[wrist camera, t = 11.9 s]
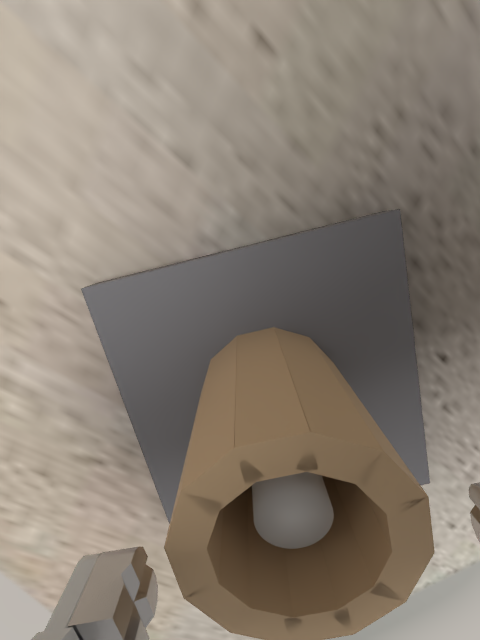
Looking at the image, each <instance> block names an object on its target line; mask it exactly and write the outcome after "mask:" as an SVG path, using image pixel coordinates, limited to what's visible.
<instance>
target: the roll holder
mask: <svg viewBox="0 0 480 640" xmlns="http://www.w3.org/2000/svg"><path fill="white" fill-rule="evenodd" d="M81 290H82V293H83V295H84V298H85V301H86V303H87V306H88V309H89V311H90V314H91V317H92V319H93V322H94V325H95V327H96V330H97V333H98V335H99V338H100V341H101V343H102V346H103V349H104V351H105V354H106V356H107V359H108V362H109V364H110V367H111V370H112V372H113V375H114V378H115V380H116V383H117V386H118V388H119V391H120V394H121V396H122V399H123V402H124V404H125V407H126V410H127V412H128V415H129V418H130V420H131V423H132V425H133V428H134V431H135V433H136V436H137V439H138V441H139V444H140V447H141V449H142V452H143V455H144V457H145V460H146V463H147V465H148V468H149V471H150V473H151V476H152V479H153V481H154V484H155V487H156V489H157V492H158V494H159V497H160V500H161V502H162V505H163V508H164V510H165V513H166V516H167V518H168V521H169V524H170V521H171V517H172V513H173V508H174V504H175V500H176V496H177V492H178V488H179V483H180V479H181V475H182V471H183V467H184V462H185V458H186V454H187V450H188V446H189V442H190V437H191V433H192V429H193V425H194V421H195V416H196V412H197V408H198V404H199V400H200V396H201V391H202V388H203V384H204V381H205V378H206V374H207V371H208V367H209V364H210V360H211V359H212V358H213V357H214V356H215V355H216V354H218V353H219V352H220V351H221V350H222V349H223V348H224V347H225V346H226V345H227V344H229V343H230V342H231V341H232V340H233V339H234V338H235V337H236V336H238V335H242V334H246V333H251V332H255V331H259V330H264V329H268V328H272V327H275V328H278V329H282V330H286V331H289V332H293V333H296V334H300V335H303V336H307V337H310V338H311V339H312V340H313V342H314V343H315V344H316V345H317V346H318V347H319V348H320V349H321V350H322V351H323V352H324V353H325V354H326V355H327V356H328V357H329V358H330V360H331V361H332V362H333V363H334V364H335V366H336V367H337V369H338V370H339V371H340V373H341V374H342V376H343V377H344V378H345V380H346V381H347V383H348V384H349V385H350V387H351V388H352V390H353V391H354V393H355V394H356V395H357V397H358V398H359V400H360V401H361V402H362V404H363V405H364V407H365V408H366V409H367V411H368V412H369V414H370V415H371V417H372V418H373V419H374V421H375V422H376V424H377V425H378V426H379V428H380V429H381V431H382V432H383V434H384V435H385V436H386V438H387V439H388V441H389V442H390V443H391V445H392V446H393V448H394V449H395V450H396V452H397V453H398V455H399V456H400V458H401V459H402V460H403V462H404V463H405V465H406V466H407V467H408V469H409V470H410V472H411V473H412V474H413V476H414V477H415V479H416V480H417V482H418V483H419V484H420V485H424V484H429V483H430V479H429V470H428V461H427V452H426V443H425V433H424V424H423V415H422V406H421V397H420V388H419V379H418V370H417V360H416V351H415V342H414V333H413V324H412V315H411V306H410V296H409V287H408V278H407V269H406V260H405V251H404V242H403V233H402V223H401V214H400V209H397V210H390V211H383V212H379V213H375V214H371V215H367V216H363V217H359V218H355V219H351V220H347V221H343V222H339V223H335V224H331V225H327V226H323V227H319V228H315V229H311V230H307V231H303V232H299V233H295V234H291V235H287V236H283V237H279V238H275V239H271V240H267V241H263V242H259V243H255V244H251V245H247V246H243V247H239V248H235V249H231V250H227V251H223V252H219V253H215V254H211V255H207V256H203V257H199V258H195V259H191V260H187V261H183V262H179V263H175V264H171V265H167V266H163V267H159V268H155V269H151V270H147V271H143V272H139V273H135V274H131V275H127V276H123V277H119V278H115V279H111V280H107V281H103V282H99V283H95V284H93V285H90V286H87V287H85V288H82V289H81ZM252 496H253V517H254V525H255V528H256V530H257V532H258V533H259V535H260V536H261V537H262V538H263V539H264V540H266V541H267V542H268V543H270V544H272V545H274V546H277V547H281V548H286V549H297V548H303V547H307V546H310V545H312V544H314V543H316V542H318V541H319V540H320V539H322V538H323V537H324V536H325V535H326V534H327V532H328V531H329V530H330V528H331V526H332V523H333V518H334V513H333V508H332V504H331V502H330V499H329V496H328V493H327V490H326V487H325V484H324V481H323V478H322V475H318V474H314V473H310V472H303V473H298V474H293V475H288V476H283V477H278V478H274V479H269V480H264V481H259V482H255V483H254V484H253V485H252Z"/></svg>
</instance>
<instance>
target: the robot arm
mask: <svg viewBox="0 0 480 640" xmlns="http://www.w3.org/2000/svg"><path fill="white" fill-rule="evenodd" d="M469 497H470V499H471V500H472V501H473V502H474V504H475V506H474V508H473V509H472V510H471V512H470V514H471V523H472V526H473V529H474V531H475V534H476V537H477V538H478V540H479V542H480V483H475V484H471V486H470V488H469ZM147 557H148V556H147V554H146V552H145V550H144V548H143V547H134V548H128V549H121V550H115V551H108V552H102V553H97V554H91V555H85V556H83V557H82V558H81V559H80V560H79V562H78V563H77V565H76V567H75V569H74V571H73V573H72V575H71V577H70V579H69V582H68V584H67V586H66V588H65V590H64V592H63V594H62V596H61V598H60V600H59V602H58V604H57V606H56V608H55V610H54V612H53V614H52V616H51V618H50V620H49V622H48V624H47V626H46V628H45V631H44V632H39V633H37V634H36V635H35V636H34V637H33V638H32V640H149V636H148V633H147V630H146V627H147V625H148V624H149V622H150V621H151V620H152V618H153V617H154V615H155V610H156V606H157V597H158V585H157V579H156V575H155V573H154V570H153V569H152V568H150V567H149V566H147V565H146V560H147Z"/></svg>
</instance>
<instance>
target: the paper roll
mask: <svg viewBox="0 0 480 640" xmlns="http://www.w3.org/2000/svg"><path fill="white" fill-rule="evenodd" d="M303 472H310V473H314V474H318V475H322V478H323V481H324V484H325V487H326V490H327V493H328V496H329V499H330V502H331V504H332V508H333V513H334V518H333V523H332V526H331V528H330V530H329V531H328V532H327V534H326V535H325V536H324V537H323V538H322V539H320V540H319V541H318V542H316V543H314V544H312V545H310V546H307V547H303V548H297V549H286V548H281V547H277V546H274V545H272V544H270V543H268V542H267V541H266V540H264V539H263V538H262V537H261V536H260V535H259V533H258V532H257V530H256V528H255V525H254V517H253V496H252V485H253V484H254V483H255V482H259V481H264V480H269V479H274V478H278V477H283V476H288V475H293V474H298V473H303ZM164 549H165V551H166V554H167V556H168V559H169V562H170V564H171V567H172V569H173V572H174V574H175V577H176V580H177V582H178V585H179V587H180V590H181V592H182V595H183V597H184V599H186V600H187V601H188V602H190V603H191V604H192V605H194V606H195V607H196V608H198V609H199V610H200V611H202V612H203V613H204V614H206V615H207V616H209V617H210V618H211V619H213V620H214V621H215V622H217V623H218V624H219V625H221V626H222V627H223V628H225V629H226V630H227V631H229V632H230V633H235V634H240V635H245V636H249V637H254V638H259V639H264V640H324V639H330V638H336V637H341V636H348V635H353V634H355V633H357V632H359V631H360V630H362V629H363V628H365V627H367V626H368V625H370V624H371V623H373V622H375V621H376V620H378V619H379V618H381V617H383V616H384V615H386V614H387V613H389V612H391V611H392V610H393V609H395V608H397V607H399V606H400V605H402V604H403V603H405V602H406V601H407V599H408V597H409V596H410V594H411V592H412V590H413V589H414V587H415V585H416V584H417V582H418V580H419V578H420V577H421V575H422V573H423V572H424V570H425V568H426V566H427V565H428V563H429V561H430V559H431V558H432V556H433V554H434V544H433V535H432V526H431V516H430V507H429V498H428V496H427V494H426V493H425V491H424V490H423V489H422V487H421V486H420V484H419V483H418V482H417V480H416V479H415V477H414V476H413V474H412V473H411V472H410V470H409V469H408V467H407V466H406V465H405V463H404V462H403V460H402V459H401V458H400V456H399V455H398V453H397V452H396V450H395V449H394V448H393V446H392V445H391V443H390V442H389V441H388V439H387V438H386V436H385V435H384V434H383V432H382V431H381V429H380V428H379V426H378V425H377V424H376V422H375V421H374V419H373V418H372V417H371V415H370V414H369V412H368V411H367V409H366V408H365V407H364V405H363V404H362V402H361V401H360V400H359V398H358V397H357V395H356V394H355V393H354V391H353V390H352V388H351V387H350V385H349V384H348V383H347V381H346V380H345V378H344V377H343V376H342V374H341V373H340V371H339V370H338V369H337V367H336V366H335V364H334V363H333V362H332V361H331V360H330V358H329V357H328V356H327V355H326V354H325V353H324V352H323V351H322V350H321V349H320V348H319V347H318V346H317V345H316V344H315V343H314V342H313V340H312V339H311V338H310V337H307V336H303V335H300V334H296V333H293V332H289V331H286V330H282V329H278V328H275V327H272V328H268V329H264V330H259V331H255V332H251V333H246V334H242V335H238V336H236V337H235V338H234V339H233V340H232V341H231V342H230V343H229V344H227V345H226V346H225V347H224V348H223V349H222V350H221V351H220V352H219V353H218V354H216V355H215V356H214V357H213V358H212V359H211V360H210V364H209V367H208V371H207V374H206V378H205V381H204V384H203V388H202V391H201V396H200V400H199V404H198V408H197V412H196V416H195V421H194V425H193V429H192V433H191V437H190V442H189V446H188V450H187V454H186V458H185V462H184V467H183V471H182V475H181V479H180V483H179V488H178V492H177V496H176V500H175V504H174V508H173V513H172V517H171V521H170V525H169V529H168V534H167V538H166V542H165V546H164Z"/></svg>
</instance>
